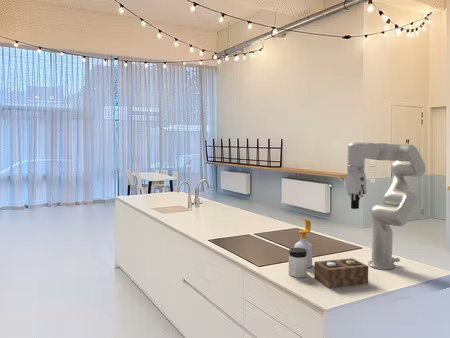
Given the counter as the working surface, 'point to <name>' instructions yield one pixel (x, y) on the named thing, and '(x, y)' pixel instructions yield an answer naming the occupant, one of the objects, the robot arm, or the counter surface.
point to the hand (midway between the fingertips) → (354, 208)
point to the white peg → (331, 263)
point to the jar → (297, 262)
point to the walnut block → (341, 273)
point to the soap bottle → (305, 242)
